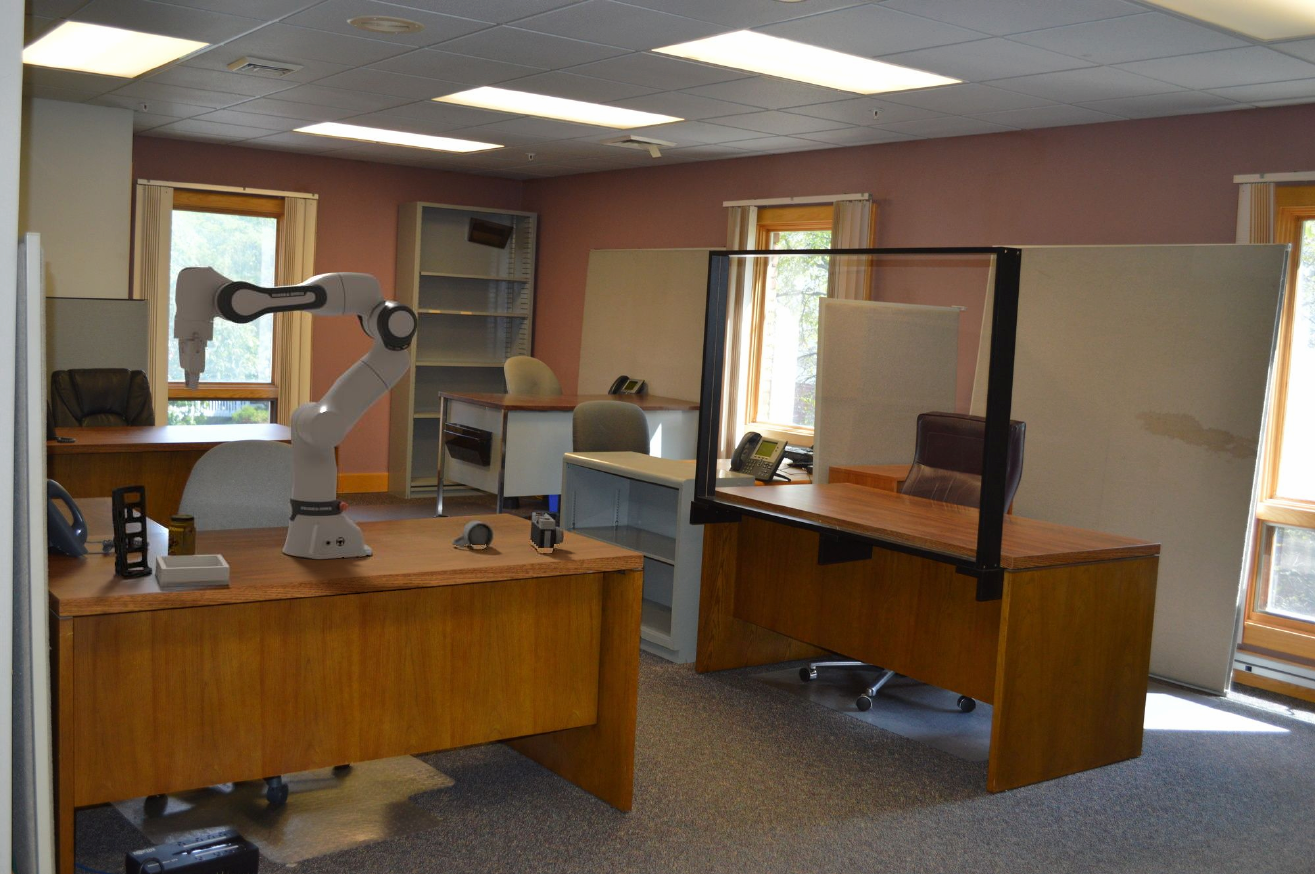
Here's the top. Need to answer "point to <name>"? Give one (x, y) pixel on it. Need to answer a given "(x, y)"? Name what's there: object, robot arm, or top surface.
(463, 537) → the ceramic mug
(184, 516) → the condiment
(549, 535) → the camera
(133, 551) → the holder
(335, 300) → the robot arm
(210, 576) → the tray
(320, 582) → the top surface
